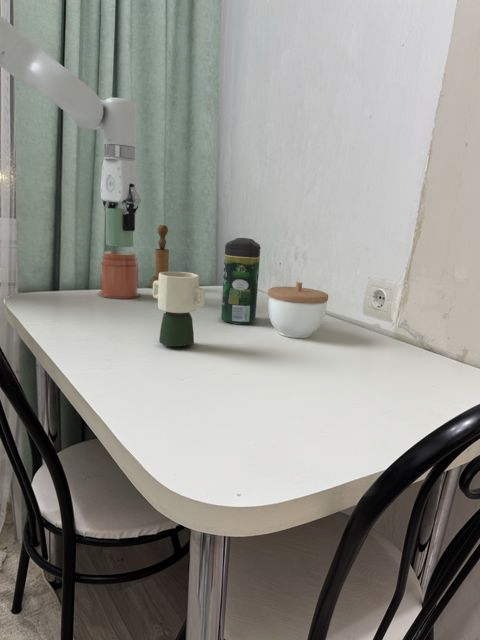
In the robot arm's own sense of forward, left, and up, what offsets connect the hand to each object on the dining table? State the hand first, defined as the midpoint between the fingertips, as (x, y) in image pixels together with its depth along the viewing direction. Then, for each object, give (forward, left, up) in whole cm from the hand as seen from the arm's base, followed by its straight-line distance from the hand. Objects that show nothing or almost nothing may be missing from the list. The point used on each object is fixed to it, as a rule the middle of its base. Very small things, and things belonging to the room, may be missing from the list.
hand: (120, 228), depth 128 cm
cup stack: (0, 0, -17) cm, 17 cm away
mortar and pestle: (-6, +18, -17) cm, 26 cm away
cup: (0, 0, -4) cm, 4 cm away
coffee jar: (+36, +8, -17) cm, 41 cm away
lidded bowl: (+51, +10, -17) cm, 55 cm away
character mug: (+45, -17, -17) cm, 51 cm away
